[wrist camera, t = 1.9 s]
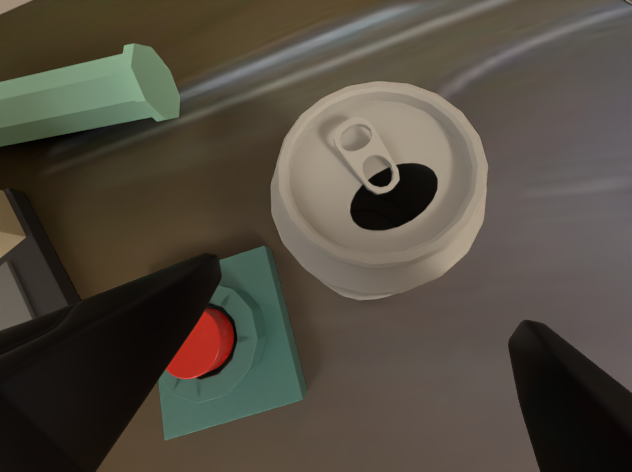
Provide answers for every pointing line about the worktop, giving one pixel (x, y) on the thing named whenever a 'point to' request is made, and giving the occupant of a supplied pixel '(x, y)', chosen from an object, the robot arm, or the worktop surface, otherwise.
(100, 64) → the container
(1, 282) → the coffee maker
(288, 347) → the control block
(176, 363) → the button
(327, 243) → the can
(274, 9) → the worktop surface
